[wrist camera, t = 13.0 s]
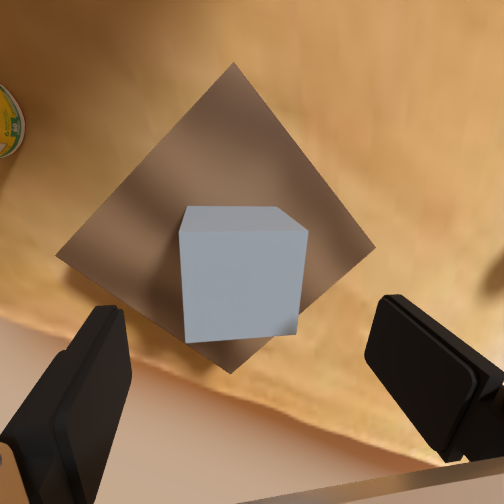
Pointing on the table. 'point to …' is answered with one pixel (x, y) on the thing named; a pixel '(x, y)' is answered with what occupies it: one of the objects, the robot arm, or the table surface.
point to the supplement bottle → (10, 123)
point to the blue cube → (240, 272)
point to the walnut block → (212, 194)
